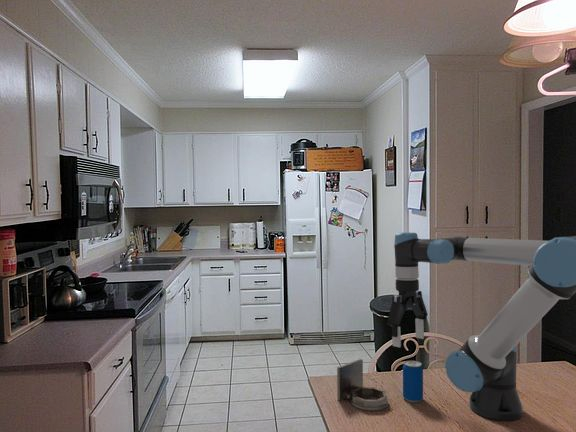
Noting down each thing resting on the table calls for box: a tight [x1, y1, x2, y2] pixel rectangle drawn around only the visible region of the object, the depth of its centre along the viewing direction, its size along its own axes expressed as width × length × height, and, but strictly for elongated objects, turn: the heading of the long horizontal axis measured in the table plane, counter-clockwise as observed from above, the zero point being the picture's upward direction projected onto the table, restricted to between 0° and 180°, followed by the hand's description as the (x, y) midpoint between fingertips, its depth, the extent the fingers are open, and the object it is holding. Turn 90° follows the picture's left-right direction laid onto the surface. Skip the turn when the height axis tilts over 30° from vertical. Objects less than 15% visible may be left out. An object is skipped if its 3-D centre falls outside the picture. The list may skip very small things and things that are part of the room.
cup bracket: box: [336, 358, 389, 412], centre depth 148 cm, size 14×12×11 cm
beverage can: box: [402, 360, 424, 403], centre depth 150 cm, size 6×6×12 cm
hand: (408, 342), depth 151 cm, fingers open, 13 cm apart
